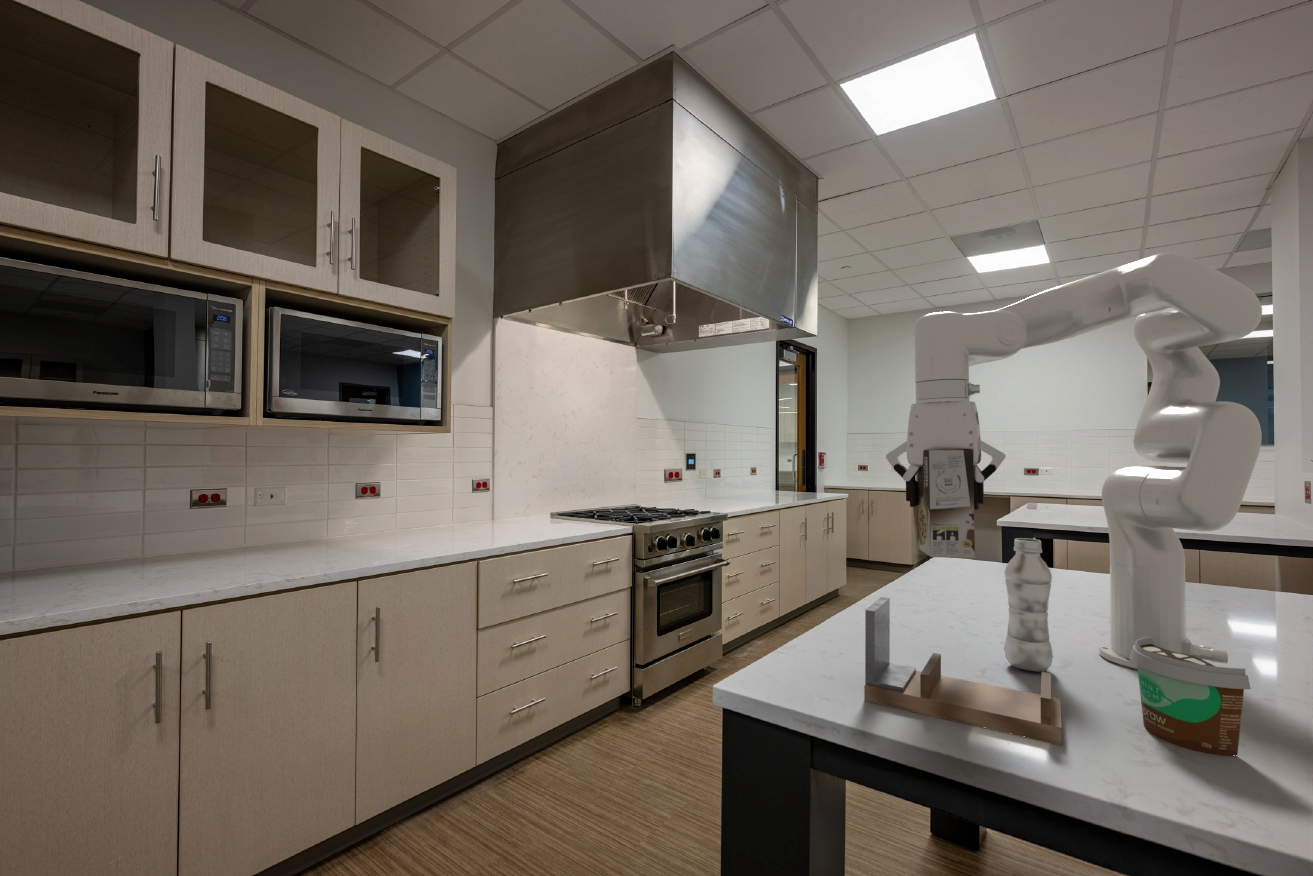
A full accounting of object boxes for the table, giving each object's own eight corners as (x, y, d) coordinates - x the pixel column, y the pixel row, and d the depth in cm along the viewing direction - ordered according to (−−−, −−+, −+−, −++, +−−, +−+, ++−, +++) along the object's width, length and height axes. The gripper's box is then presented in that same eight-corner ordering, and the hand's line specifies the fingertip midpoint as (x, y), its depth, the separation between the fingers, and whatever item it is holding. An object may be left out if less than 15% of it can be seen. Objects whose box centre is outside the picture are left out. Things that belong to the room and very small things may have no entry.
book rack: (1060, 714, 77) (1060, 674, 78) (1061, 745, 69) (1061, 701, 69) (881, 677, 89) (881, 643, 90) (864, 700, 81) (864, 663, 81)
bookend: (915, 671, 86) (915, 601, 87) (902, 692, 79) (902, 615, 79) (881, 665, 89) (881, 597, 89) (865, 684, 82) (865, 609, 82)
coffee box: (977, 559, 88) (975, 448, 88) (929, 558, 89) (927, 448, 89) (959, 549, 97) (957, 448, 97) (916, 548, 98) (914, 448, 98)
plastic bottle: (1049, 665, 96) (1048, 538, 96) (1056, 679, 89) (1055, 544, 90) (1002, 659, 98) (1001, 535, 99) (1006, 672, 92) (1006, 541, 93)
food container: (1105, 715, 77) (1104, 636, 78) (1149, 714, 78) (1148, 636, 78) (1199, 765, 65) (1198, 671, 65) (1251, 763, 66) (1250, 670, 66)
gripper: (1008, 392, 92) (1010, 508, 91) (888, 398, 101) (890, 503, 101) (1005, 388, 86) (1007, 512, 85) (877, 395, 95) (879, 507, 95)
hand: (944, 507), depth 93 cm, fingers closed on coffee box, 8 cm apart
